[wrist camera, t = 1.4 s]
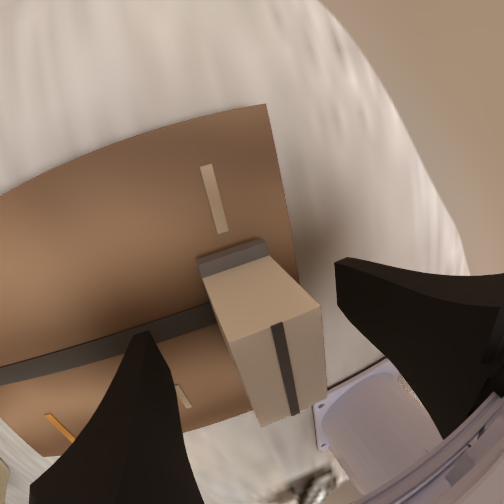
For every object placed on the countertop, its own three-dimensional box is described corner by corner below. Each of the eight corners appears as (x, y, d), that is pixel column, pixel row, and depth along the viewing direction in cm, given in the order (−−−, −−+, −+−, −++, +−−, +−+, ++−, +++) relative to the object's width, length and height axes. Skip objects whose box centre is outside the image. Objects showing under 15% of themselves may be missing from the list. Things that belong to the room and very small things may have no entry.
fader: (283, 341, 13) (328, 406, 9) (231, 361, 12) (264, 434, 8) (261, 237, 10) (319, 290, 7) (195, 259, 10) (223, 327, 6)
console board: (297, 362, 17) (313, 385, 15) (46, 434, 13) (43, 457, 11) (248, 109, 11) (266, 103, 9) (-77, 251, 7) (-98, 267, 5)
